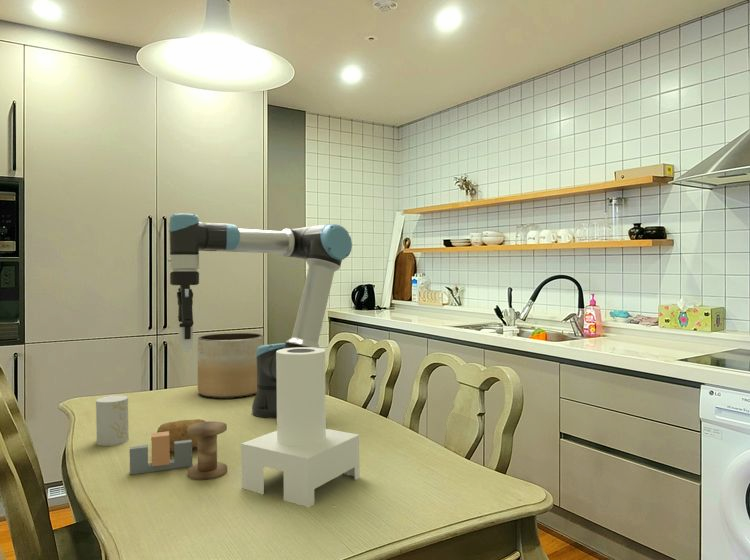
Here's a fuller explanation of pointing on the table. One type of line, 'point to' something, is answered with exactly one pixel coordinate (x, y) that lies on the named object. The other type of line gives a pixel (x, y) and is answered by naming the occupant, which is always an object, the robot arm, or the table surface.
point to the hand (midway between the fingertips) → (185, 348)
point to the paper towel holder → (300, 432)
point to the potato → (179, 431)
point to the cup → (112, 420)
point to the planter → (228, 364)
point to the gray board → (142, 466)
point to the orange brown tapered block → (160, 448)
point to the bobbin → (207, 450)
